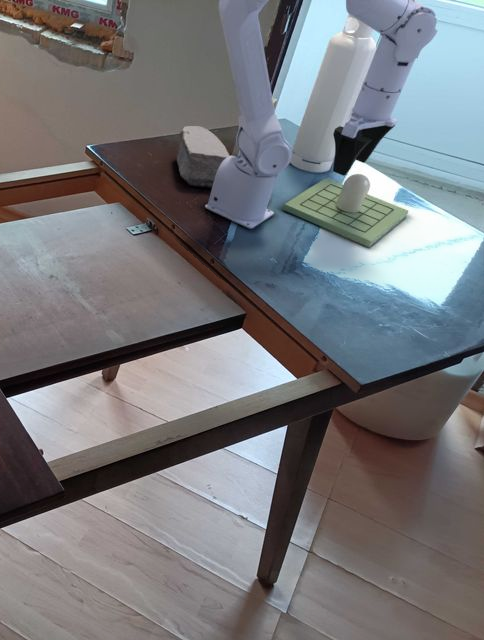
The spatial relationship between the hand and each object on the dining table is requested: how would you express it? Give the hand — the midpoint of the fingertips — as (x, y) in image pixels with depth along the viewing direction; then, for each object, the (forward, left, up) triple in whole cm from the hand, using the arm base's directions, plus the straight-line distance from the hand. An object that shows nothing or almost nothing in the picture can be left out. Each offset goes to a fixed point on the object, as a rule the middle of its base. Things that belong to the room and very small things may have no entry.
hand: (349, 166), depth 116 cm
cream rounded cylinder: (+2, +3, -8) cm, 9 cm away
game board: (+2, +3, -9) cm, 10 cm away
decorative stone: (-24, -6, -10) cm, 27 cm away
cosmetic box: (-21, +7, -10) cm, 25 cm away
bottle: (-12, +17, -10) cm, 23 cm away
